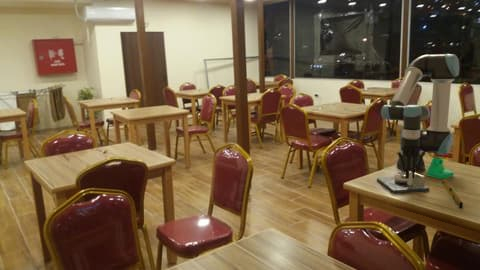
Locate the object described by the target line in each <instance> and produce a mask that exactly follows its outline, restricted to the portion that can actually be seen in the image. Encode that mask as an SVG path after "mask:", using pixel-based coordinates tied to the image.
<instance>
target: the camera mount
mask: <svg viewBox="0 0 480 270" xmlns="http://www.w3.org/2000/svg"><path fill="white" fill-rule="evenodd" d="M454 174H455V172H454V171H453V170H449V169H446V168H445V167H444V159H443V158H441V157H437V156H435V157H433V158H432V161H431V162H430V164H429V167H428V169H427V171H426V176H429V177H432V178H436V179H441V180H442V178H445V179H446V180H448V179H449V178H450V177H452V176H454Z"/></svg>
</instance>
